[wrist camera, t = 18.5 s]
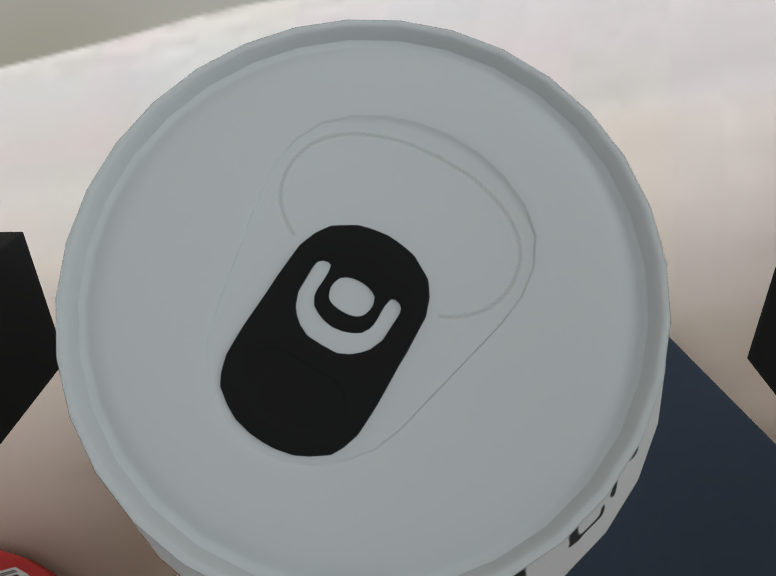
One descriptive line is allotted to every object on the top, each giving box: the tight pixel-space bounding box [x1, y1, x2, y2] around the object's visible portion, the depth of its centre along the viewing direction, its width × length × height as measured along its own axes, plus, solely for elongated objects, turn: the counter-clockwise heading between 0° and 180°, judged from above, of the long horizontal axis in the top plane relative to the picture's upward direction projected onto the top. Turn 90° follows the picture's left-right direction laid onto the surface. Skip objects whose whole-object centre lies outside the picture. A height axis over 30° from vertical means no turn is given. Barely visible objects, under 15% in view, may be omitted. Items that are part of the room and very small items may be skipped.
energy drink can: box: [56, 20, 671, 576], centre depth 12 cm, size 6×6×15 cm
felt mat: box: [565, 337, 776, 576], centre depth 20 cm, size 20×14×1 cm
